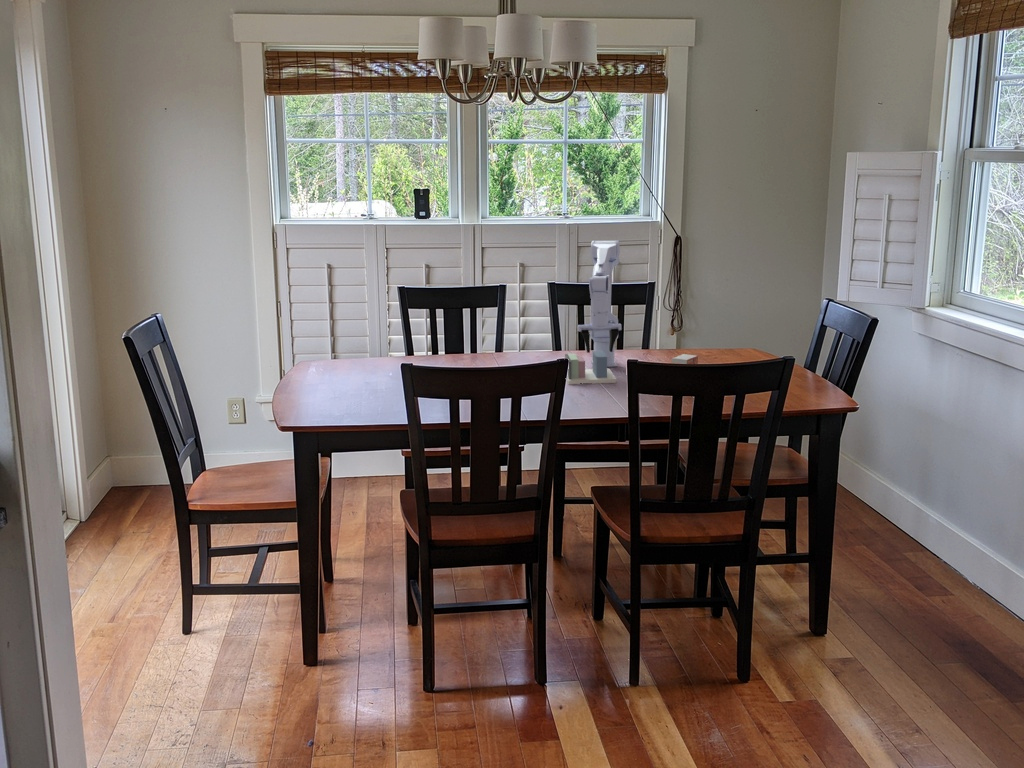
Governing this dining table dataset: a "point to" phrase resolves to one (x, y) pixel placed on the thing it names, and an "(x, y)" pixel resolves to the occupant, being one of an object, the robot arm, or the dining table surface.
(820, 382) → the dining table surface
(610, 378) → the shelf board
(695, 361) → the small box
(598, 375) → the slate book
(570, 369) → the bookend
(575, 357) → the books
